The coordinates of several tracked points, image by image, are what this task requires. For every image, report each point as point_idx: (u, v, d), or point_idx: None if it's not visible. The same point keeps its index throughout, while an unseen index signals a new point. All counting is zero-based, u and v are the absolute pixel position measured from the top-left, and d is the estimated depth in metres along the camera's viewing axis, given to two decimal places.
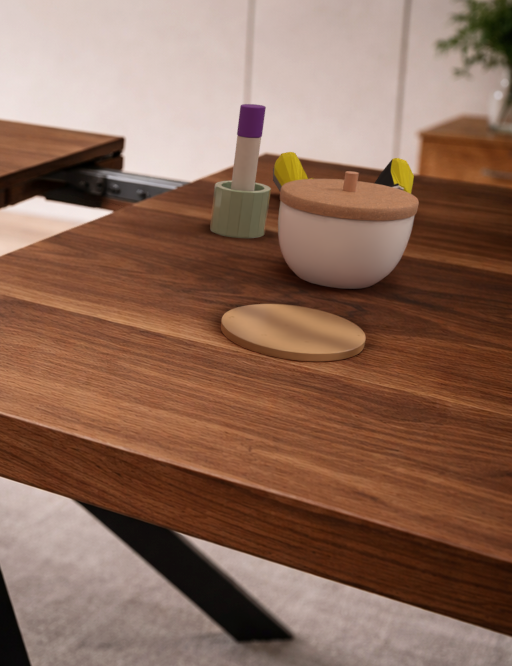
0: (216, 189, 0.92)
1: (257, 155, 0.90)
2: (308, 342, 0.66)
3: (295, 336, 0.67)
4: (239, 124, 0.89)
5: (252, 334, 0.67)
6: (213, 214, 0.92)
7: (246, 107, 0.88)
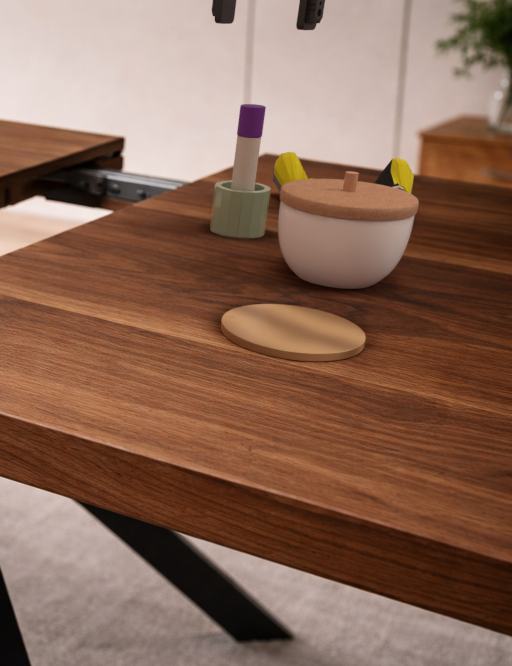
0: (216, 189, 0.92)
1: (257, 155, 0.90)
2: (308, 342, 0.66)
3: (295, 336, 0.67)
4: (239, 124, 0.89)
5: (252, 334, 0.67)
6: (213, 214, 0.92)
7: (246, 107, 0.88)
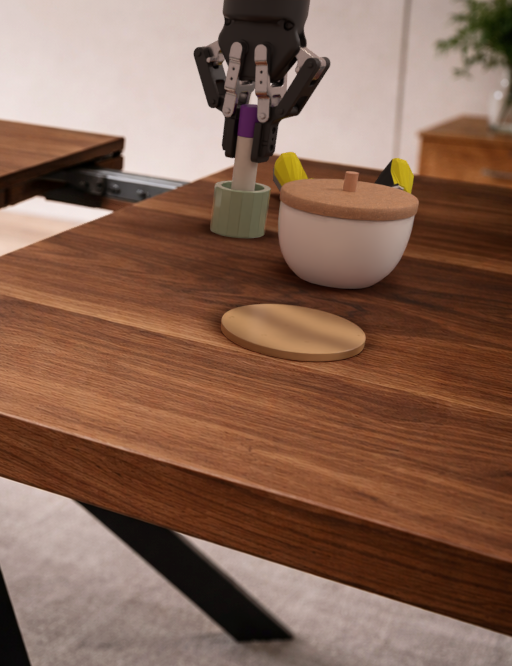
0: (216, 189, 0.92)
1: None
2: (308, 342, 0.66)
3: (295, 336, 0.67)
4: (239, 124, 0.89)
5: (252, 334, 0.67)
6: (213, 214, 0.92)
7: (246, 107, 0.88)
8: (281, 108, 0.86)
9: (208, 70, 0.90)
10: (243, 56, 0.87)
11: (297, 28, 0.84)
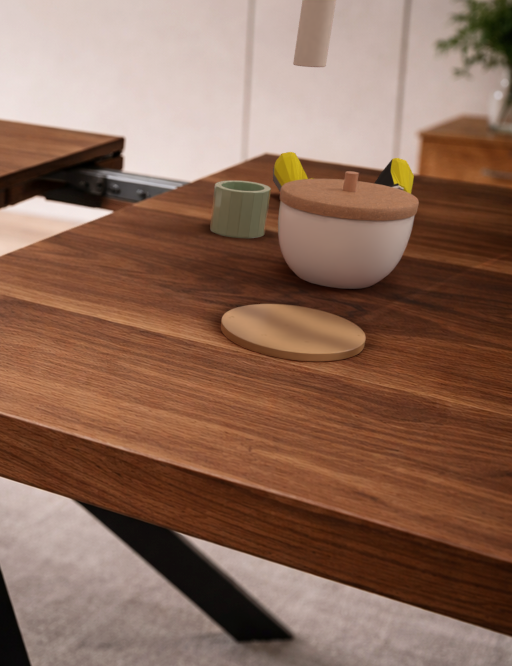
0: (216, 189, 0.92)
1: None
2: (308, 342, 0.66)
3: (295, 336, 0.67)
4: None
5: (252, 334, 0.67)
6: (213, 214, 0.92)
7: None
8: None
9: None
10: None
11: None
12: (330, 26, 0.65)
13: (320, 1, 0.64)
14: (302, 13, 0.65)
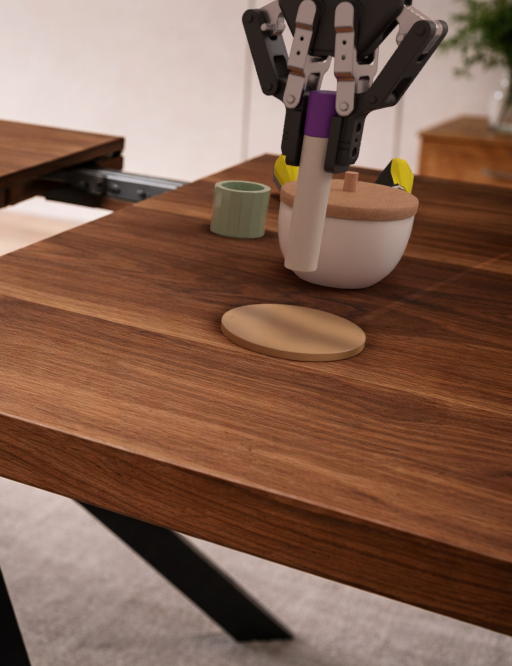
0: (216, 189, 0.92)
1: None
2: (308, 342, 0.66)
3: (295, 336, 0.67)
4: (308, 118, 0.63)
5: (252, 334, 0.67)
6: (213, 214, 0.92)
7: (319, 94, 0.62)
8: (372, 95, 0.59)
9: (264, 41, 0.64)
10: (316, 20, 0.60)
11: None
12: (321, 233, 0.65)
13: (311, 211, 0.64)
14: (293, 220, 0.65)
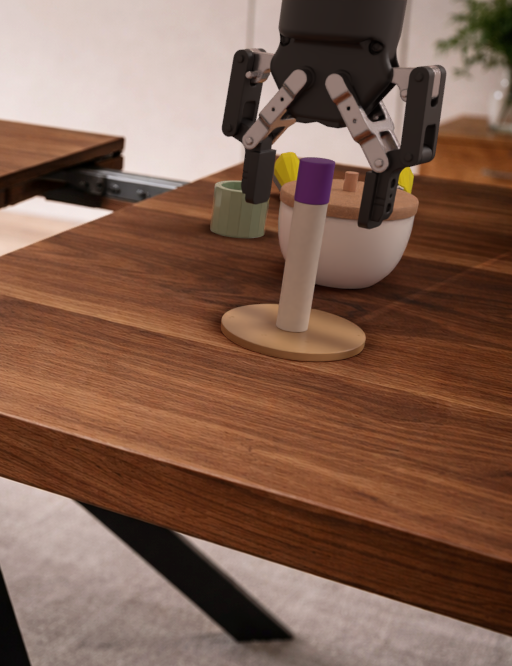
0: (216, 189, 0.92)
1: (322, 228, 0.65)
2: (308, 342, 0.66)
3: (295, 336, 0.67)
4: (298, 185, 0.64)
5: (252, 334, 0.67)
6: (213, 214, 0.92)
7: (309, 163, 0.63)
8: (406, 153, 0.58)
9: (243, 87, 0.66)
10: (301, 91, 0.62)
11: (388, 51, 0.58)
12: (311, 295, 0.67)
13: (301, 274, 0.66)
14: (284, 282, 0.67)
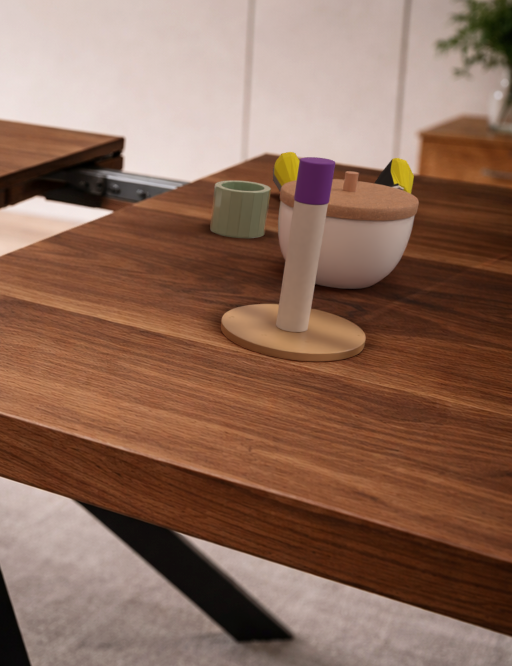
0: (216, 189, 0.92)
1: (322, 228, 0.65)
2: (308, 342, 0.66)
3: (295, 336, 0.67)
4: (298, 185, 0.64)
5: (252, 334, 0.67)
6: (213, 214, 0.92)
7: (309, 163, 0.63)
8: None
9: None
10: None
11: None
12: (311, 295, 0.67)
13: (301, 274, 0.66)
14: (284, 282, 0.67)
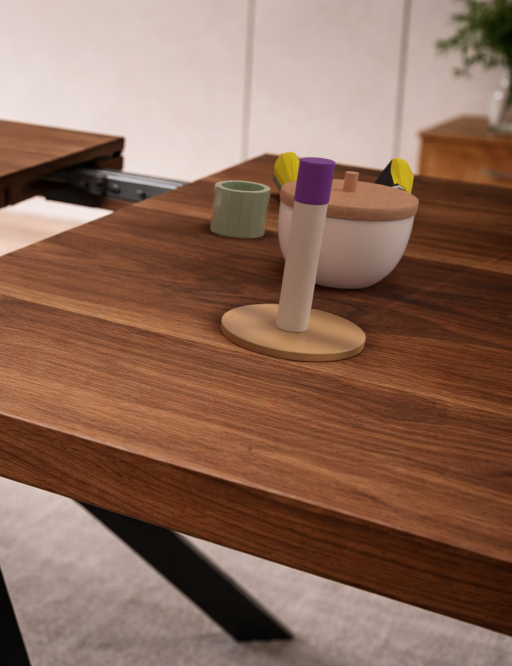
0: (216, 189, 0.92)
1: (322, 228, 0.65)
2: (308, 342, 0.66)
3: (295, 336, 0.67)
4: (298, 185, 0.64)
5: (252, 334, 0.67)
6: (213, 214, 0.92)
7: (309, 163, 0.63)
8: None
9: None
10: None
11: None
12: (311, 295, 0.67)
13: (301, 274, 0.66)
14: (284, 282, 0.67)
